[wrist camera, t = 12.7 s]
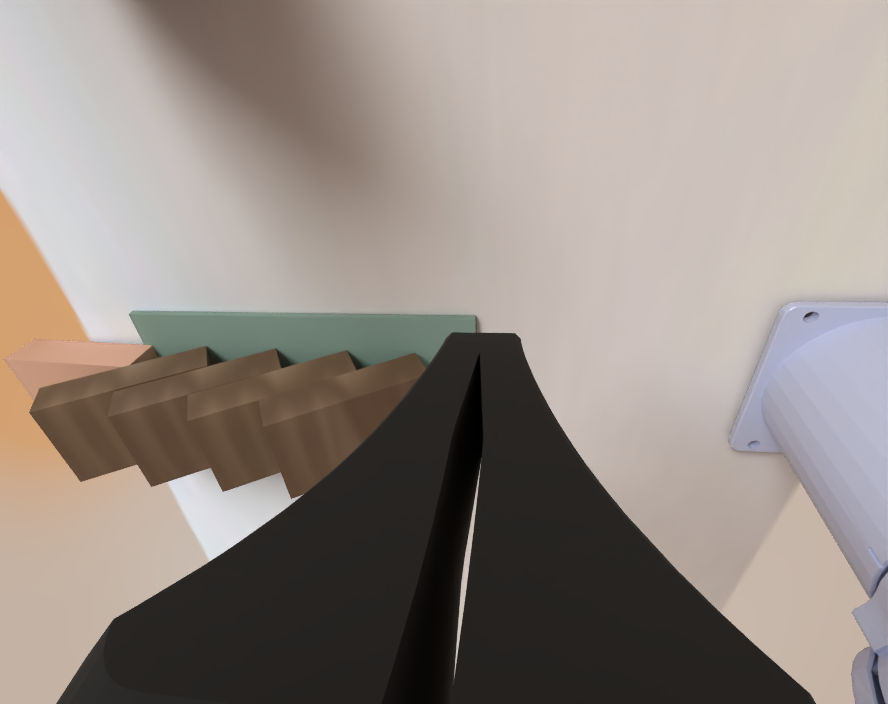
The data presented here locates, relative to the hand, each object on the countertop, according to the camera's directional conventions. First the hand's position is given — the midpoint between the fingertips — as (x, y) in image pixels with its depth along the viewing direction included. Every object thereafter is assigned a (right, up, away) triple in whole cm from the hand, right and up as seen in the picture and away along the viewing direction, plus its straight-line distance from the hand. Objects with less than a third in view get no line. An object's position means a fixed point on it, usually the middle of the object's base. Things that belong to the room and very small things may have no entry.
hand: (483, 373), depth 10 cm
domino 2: (-8, -2, +14) cm, 16 cm away
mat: (-7, -1, +15) cm, 17 cm away
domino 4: (-2, -2, +13) cm, 13 cm away
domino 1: (-12, -2, +15) cm, 19 cm away
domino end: (-15, -2, +15) cm, 21 cm away
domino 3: (-5, -2, +14) cm, 15 cm away
